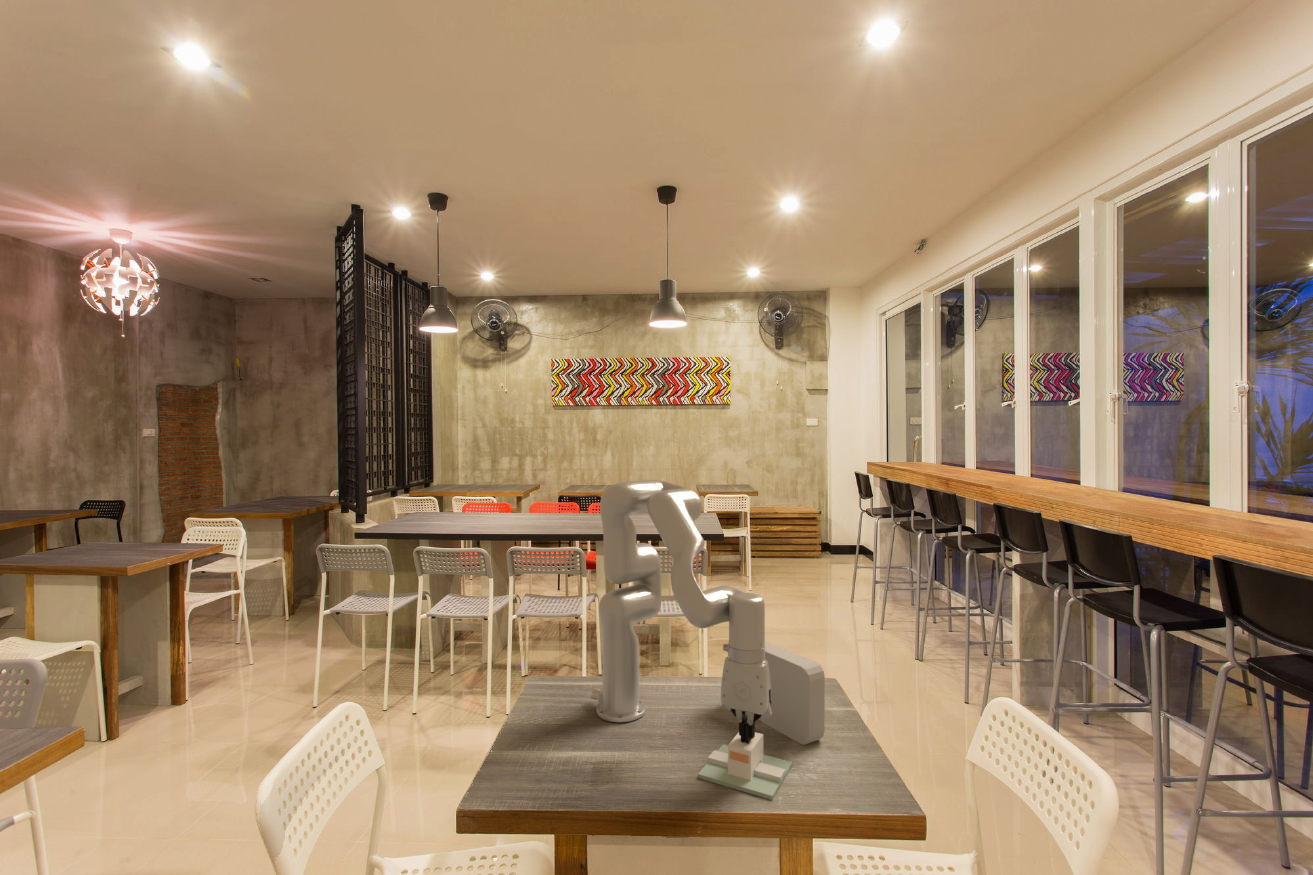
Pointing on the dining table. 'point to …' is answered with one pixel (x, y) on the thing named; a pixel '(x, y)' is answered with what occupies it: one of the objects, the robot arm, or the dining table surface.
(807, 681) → the grey rounded block
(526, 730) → the dining table surface
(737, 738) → the block
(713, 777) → the rail board
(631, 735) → the dining table surface
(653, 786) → the dining table surface
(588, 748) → the dining table surface
